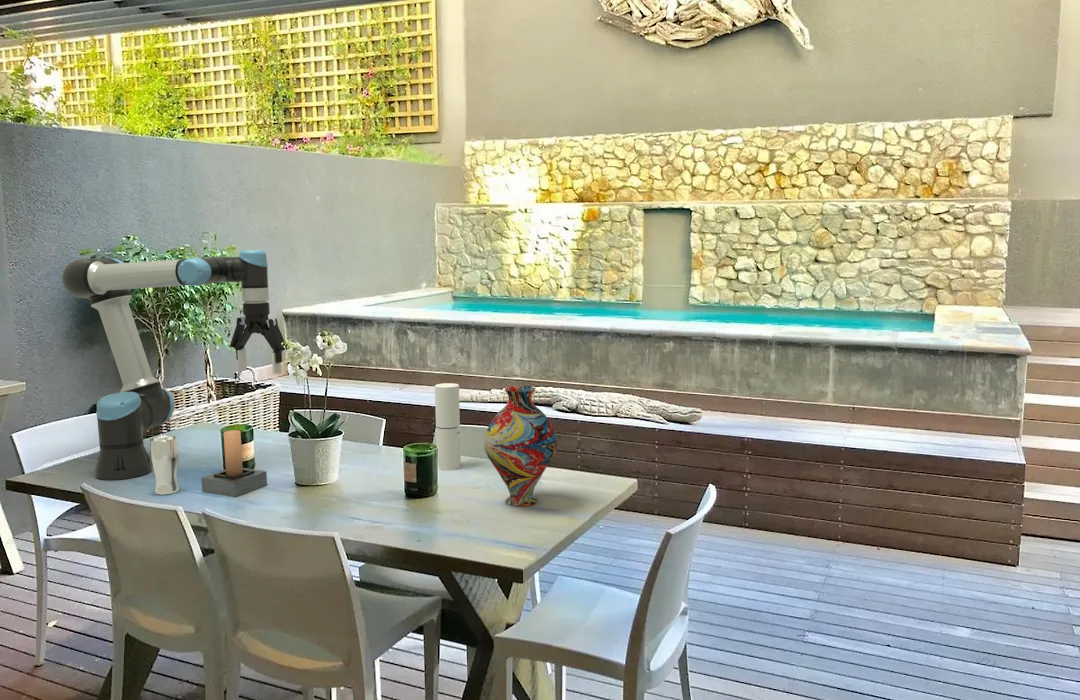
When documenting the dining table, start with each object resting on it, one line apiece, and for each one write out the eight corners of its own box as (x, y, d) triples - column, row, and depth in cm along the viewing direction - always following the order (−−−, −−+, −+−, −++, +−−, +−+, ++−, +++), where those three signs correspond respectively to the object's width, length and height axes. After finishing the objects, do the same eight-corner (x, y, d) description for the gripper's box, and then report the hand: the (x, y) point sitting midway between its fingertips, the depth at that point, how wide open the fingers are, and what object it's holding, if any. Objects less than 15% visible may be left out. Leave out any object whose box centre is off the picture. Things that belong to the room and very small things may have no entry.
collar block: (202, 491, 232) (201, 475, 232) (235, 480, 243) (234, 464, 242) (235, 497, 227) (234, 480, 227) (267, 485, 238) (266, 469, 237)
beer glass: (171, 486, 237) (168, 434, 235) (185, 490, 233) (182, 437, 231) (148, 492, 232) (144, 439, 230) (162, 496, 228) (158, 442, 226)
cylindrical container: (432, 466, 255) (430, 385, 252) (451, 462, 260) (449, 382, 257) (446, 471, 250) (444, 388, 247) (465, 466, 255) (463, 385, 252)
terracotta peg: (223, 489, 234) (220, 433, 232) (235, 485, 238) (232, 429, 236) (235, 491, 232) (231, 434, 230) (247, 487, 236) (244, 431, 234)
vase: (475, 495, 227) (473, 385, 223) (541, 487, 234) (540, 380, 230) (499, 517, 209) (497, 398, 205) (568, 507, 216) (568, 392, 212)
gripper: (297, 302, 250) (300, 373, 253) (234, 300, 261) (237, 368, 264) (279, 304, 244) (282, 376, 246) (215, 301, 254) (219, 371, 257)
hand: (259, 372), depth 255 cm, fingers open, 13 cm apart
